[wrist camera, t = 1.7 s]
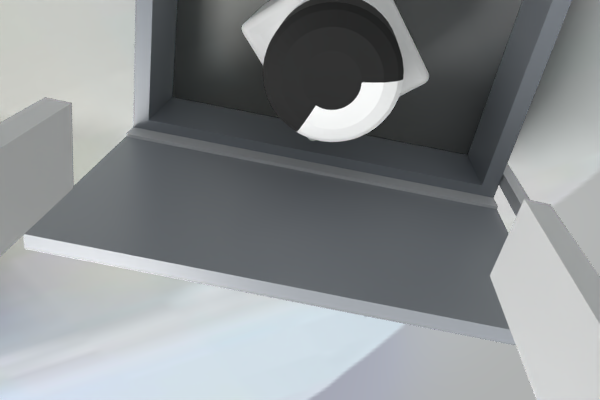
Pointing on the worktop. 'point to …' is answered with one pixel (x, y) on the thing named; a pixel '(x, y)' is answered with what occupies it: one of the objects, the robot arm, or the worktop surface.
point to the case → (306, 197)
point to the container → (334, 63)
